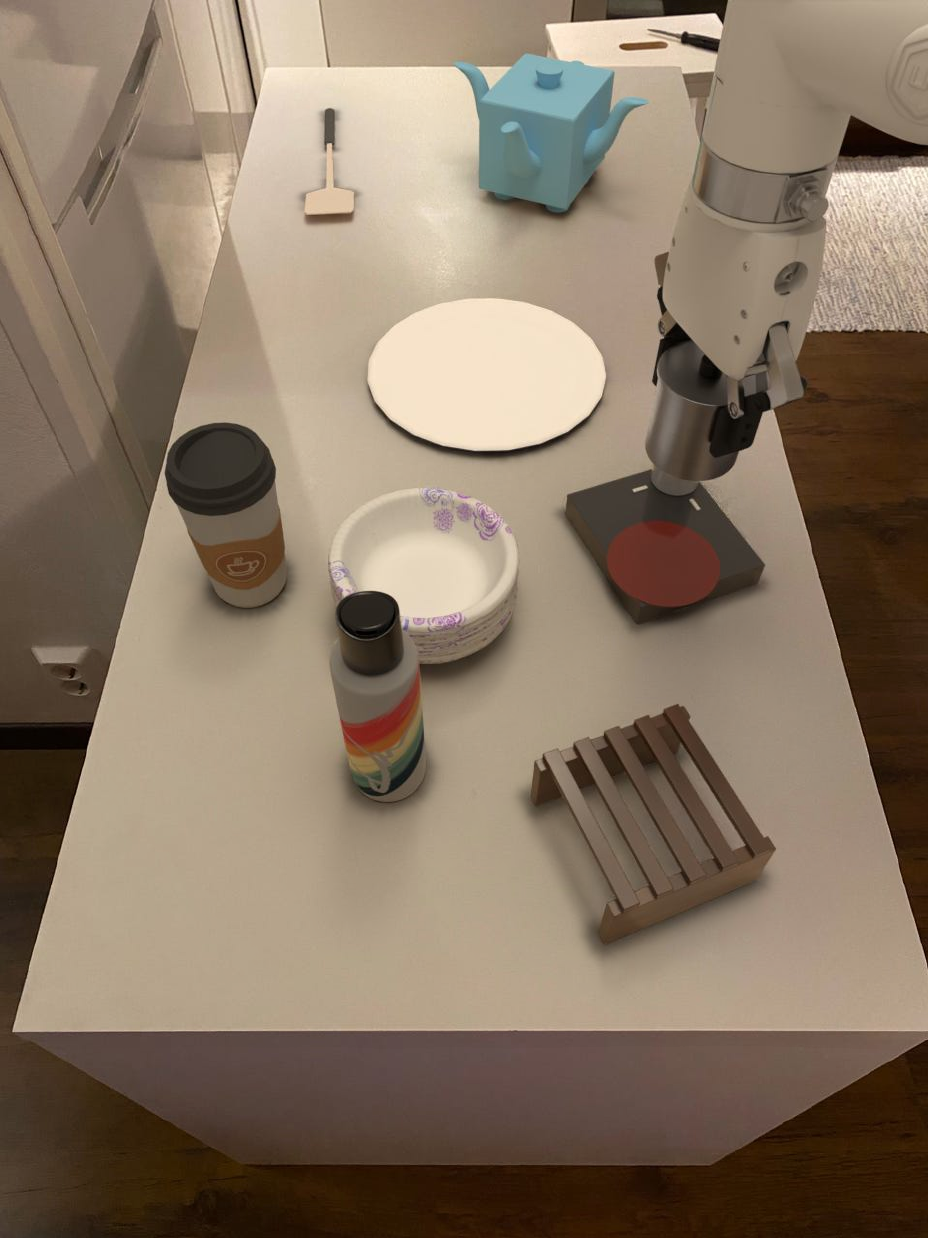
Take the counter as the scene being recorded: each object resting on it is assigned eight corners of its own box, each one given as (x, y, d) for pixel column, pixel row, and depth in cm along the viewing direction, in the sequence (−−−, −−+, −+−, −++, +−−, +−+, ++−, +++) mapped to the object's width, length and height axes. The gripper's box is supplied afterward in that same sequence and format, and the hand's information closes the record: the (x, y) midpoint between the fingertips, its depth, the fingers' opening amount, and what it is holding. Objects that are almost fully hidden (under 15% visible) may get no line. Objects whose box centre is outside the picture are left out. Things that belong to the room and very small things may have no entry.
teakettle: (576, 142, 130) (586, 23, 119) (638, 210, 120) (657, 87, 108) (447, 167, 126) (445, 47, 115) (500, 239, 116) (503, 115, 104)
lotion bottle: (349, 804, 70) (314, 648, 54) (353, 737, 73) (322, 571, 58) (426, 803, 70) (414, 647, 54) (427, 736, 74) (416, 571, 58)
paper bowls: (526, 557, 85) (531, 494, 78) (501, 699, 76) (504, 641, 69) (360, 536, 86) (352, 472, 80) (317, 673, 77) (303, 613, 71)
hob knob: (643, 466, 88) (653, 418, 83) (687, 458, 89) (699, 410, 84) (661, 499, 85) (672, 451, 81) (706, 490, 86) (720, 442, 81)
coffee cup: (205, 627, 80) (159, 502, 68) (201, 554, 85) (158, 425, 73) (304, 610, 81) (276, 484, 69) (294, 539, 86) (266, 410, 74)
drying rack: (671, 742, 73) (685, 700, 68) (756, 880, 66) (779, 845, 62) (530, 795, 70) (534, 756, 66) (604, 945, 64) (615, 913, 59)
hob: (686, 456, 92) (691, 436, 90) (780, 575, 83) (789, 555, 81) (554, 496, 89) (556, 476, 87) (637, 625, 80) (641, 605, 78)
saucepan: (625, 431, 72) (641, 340, 65) (766, 390, 75) (795, 299, 68) (672, 494, 68) (694, 404, 61) (820, 448, 71) (856, 358, 64)
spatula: (305, 225, 118) (304, 213, 117) (308, 113, 135) (307, 102, 134) (354, 222, 118) (353, 211, 117) (351, 111, 136) (350, 100, 135)
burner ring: (683, 509, 85) (683, 508, 85) (741, 586, 79) (741, 586, 79) (587, 540, 83) (587, 539, 82) (640, 621, 77) (640, 620, 77)
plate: (422, 286, 110) (421, 277, 109) (631, 334, 104) (633, 324, 103) (327, 422, 96) (325, 412, 95) (564, 485, 90) (565, 475, 89)
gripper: (914, 237, 50) (814, 480, 64) (736, 95, 60) (684, 333, 74) (793, 268, 48) (718, 510, 62) (630, 117, 58) (597, 356, 72)
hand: (700, 413), depth 68 cm, fingers closed on saucepan, 7 cm apart
